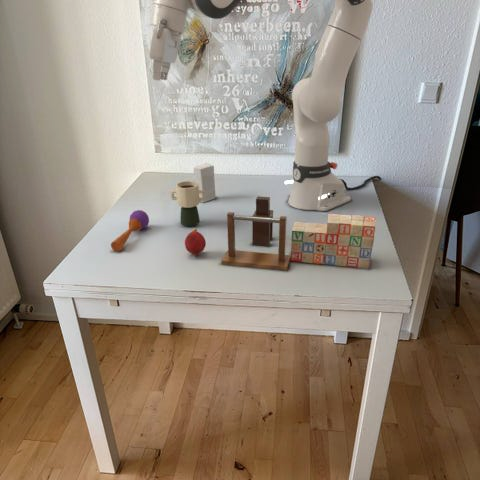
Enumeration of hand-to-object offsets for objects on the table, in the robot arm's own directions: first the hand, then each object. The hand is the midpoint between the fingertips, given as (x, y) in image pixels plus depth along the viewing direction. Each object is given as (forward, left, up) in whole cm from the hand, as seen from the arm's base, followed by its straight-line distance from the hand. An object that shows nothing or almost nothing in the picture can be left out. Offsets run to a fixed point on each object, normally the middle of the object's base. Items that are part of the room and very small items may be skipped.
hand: (159, 80), depth 132 cm
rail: (-8, +35, -43) cm, 56 cm away
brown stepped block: (-17, +25, -43) cm, 52 cm away
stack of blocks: (-26, +45, -43) cm, 67 cm away
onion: (+4, +22, -43) cm, 48 cm away
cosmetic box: (-20, -16, -43) cm, 50 cm away
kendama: (+15, 0, -43) cm, 45 cm away
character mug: (-5, +1, -43) cm, 43 cm away
